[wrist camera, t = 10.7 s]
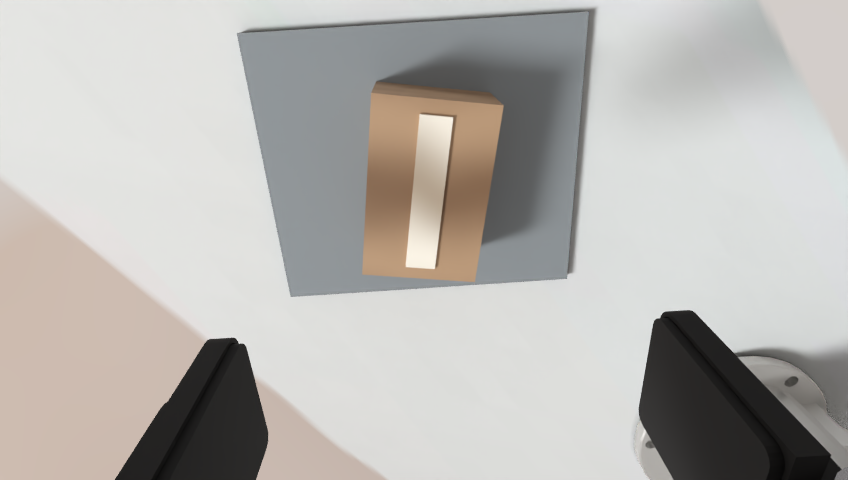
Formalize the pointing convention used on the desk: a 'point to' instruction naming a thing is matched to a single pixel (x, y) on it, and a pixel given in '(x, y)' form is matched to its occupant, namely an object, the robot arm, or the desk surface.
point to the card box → (428, 180)
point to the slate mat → (349, 137)
